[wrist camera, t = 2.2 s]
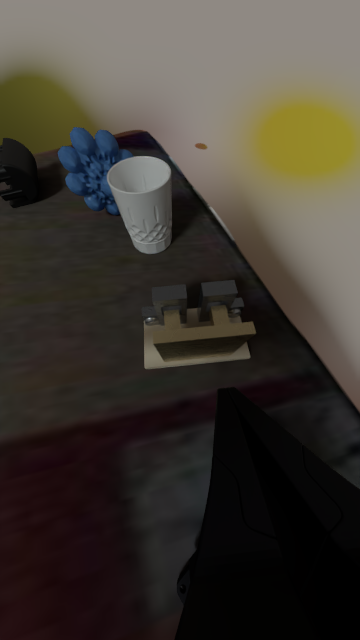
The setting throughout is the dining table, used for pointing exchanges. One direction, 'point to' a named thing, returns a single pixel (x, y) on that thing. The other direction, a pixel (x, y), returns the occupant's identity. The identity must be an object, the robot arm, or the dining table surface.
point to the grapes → (92, 167)
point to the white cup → (144, 201)
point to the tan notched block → (201, 337)
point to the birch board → (156, 361)
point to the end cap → (18, 173)
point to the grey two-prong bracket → (208, 297)
